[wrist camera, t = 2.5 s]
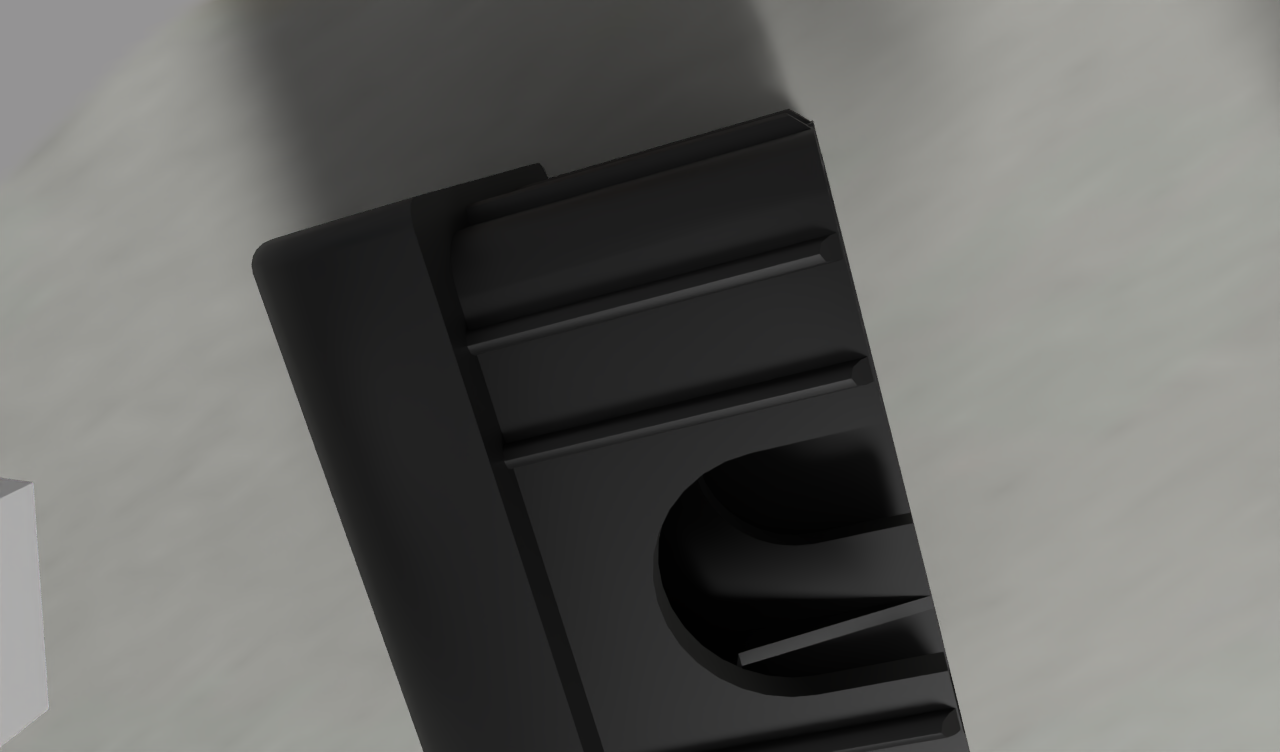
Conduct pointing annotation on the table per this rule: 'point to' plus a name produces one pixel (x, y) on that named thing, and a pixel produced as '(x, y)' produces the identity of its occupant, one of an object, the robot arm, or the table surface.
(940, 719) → the end cap
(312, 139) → the table surface
